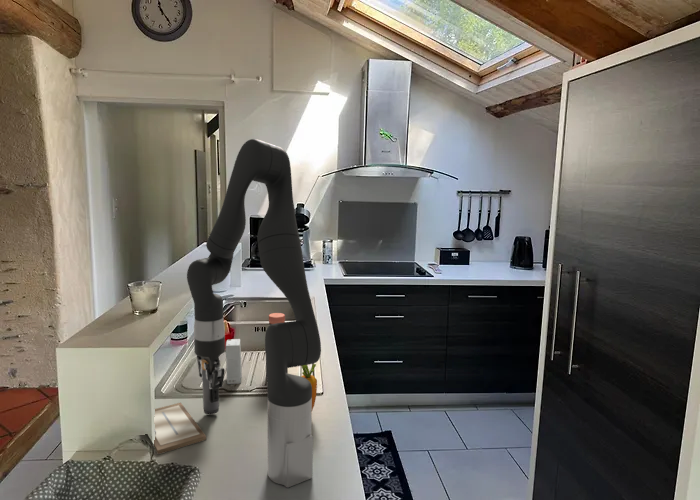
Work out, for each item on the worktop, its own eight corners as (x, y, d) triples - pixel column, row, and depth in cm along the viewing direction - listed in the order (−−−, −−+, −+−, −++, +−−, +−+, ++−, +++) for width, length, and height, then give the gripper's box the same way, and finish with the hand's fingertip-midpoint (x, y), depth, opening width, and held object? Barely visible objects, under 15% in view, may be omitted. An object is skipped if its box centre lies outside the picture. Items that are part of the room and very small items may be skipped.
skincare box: (241, 383, 145) (240, 345, 143) (226, 384, 144) (225, 346, 142) (242, 375, 151) (241, 338, 149) (227, 376, 150) (226, 338, 148)
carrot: (316, 412, 129) (317, 359, 126) (316, 422, 124) (317, 367, 121) (298, 412, 129) (298, 359, 126) (296, 422, 124) (297, 366, 121)
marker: (222, 411, 126) (220, 360, 123) (206, 416, 123) (204, 364, 121) (216, 405, 129) (214, 355, 127) (200, 409, 126) (199, 359, 124)
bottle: (276, 370, 155) (276, 310, 152) (292, 375, 152) (292, 314, 148) (261, 377, 150) (260, 315, 147) (277, 383, 146) (277, 319, 143)
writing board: (206, 439, 115) (205, 432, 114) (157, 454, 108) (156, 447, 108) (180, 405, 131) (180, 399, 130) (136, 417, 124) (136, 410, 124)
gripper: (234, 340, 119) (235, 405, 122) (213, 325, 131) (215, 385, 133) (204, 345, 115) (206, 413, 118) (185, 330, 126) (187, 391, 129)
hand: (211, 397), depth 126 cm, fingers closed on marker, 4 cm apart
